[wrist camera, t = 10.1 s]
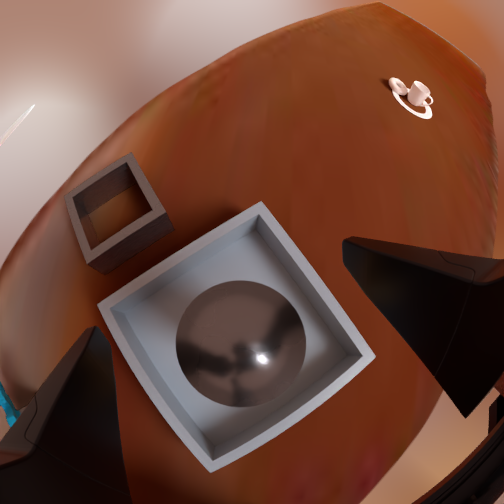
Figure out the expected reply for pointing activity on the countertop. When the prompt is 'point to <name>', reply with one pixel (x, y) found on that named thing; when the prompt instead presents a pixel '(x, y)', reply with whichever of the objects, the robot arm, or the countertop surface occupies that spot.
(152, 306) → the tray
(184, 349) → the capped labeled canister
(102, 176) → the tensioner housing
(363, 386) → the countertop surface
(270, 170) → the countertop surface
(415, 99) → the teacup and saucer
